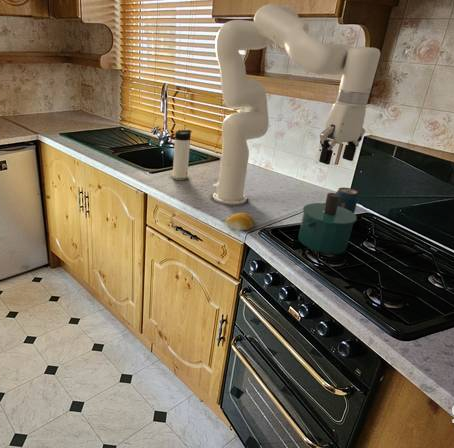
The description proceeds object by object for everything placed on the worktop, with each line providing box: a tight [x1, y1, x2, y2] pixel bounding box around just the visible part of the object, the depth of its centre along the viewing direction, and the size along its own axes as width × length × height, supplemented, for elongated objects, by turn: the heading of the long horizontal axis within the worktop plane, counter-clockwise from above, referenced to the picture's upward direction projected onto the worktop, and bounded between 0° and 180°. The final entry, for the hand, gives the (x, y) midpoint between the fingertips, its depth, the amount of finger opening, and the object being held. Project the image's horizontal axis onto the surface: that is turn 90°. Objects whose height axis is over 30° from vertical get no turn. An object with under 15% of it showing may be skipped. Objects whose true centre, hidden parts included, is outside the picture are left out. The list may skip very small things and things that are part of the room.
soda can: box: [335, 187, 359, 214], centre depth 132 cm, size 7×7×12 cm
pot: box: [298, 212, 355, 256], centre depth 119 cm, size 14×19×10 cm
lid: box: [302, 192, 358, 225], centre depth 116 cm, size 15×15×7 cm
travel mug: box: [171, 129, 193, 181], centre depth 166 cm, size 6×7×20 cm
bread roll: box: [225, 212, 255, 231], centre depth 129 cm, size 8×9×4 cm
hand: (335, 161), depth 113 cm, fingers open, 9 cm apart
